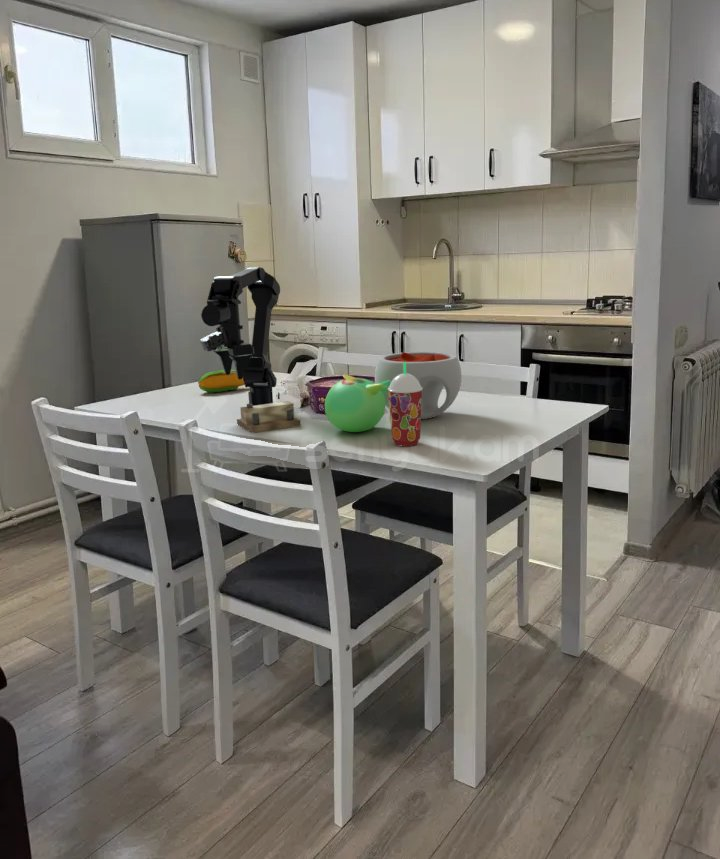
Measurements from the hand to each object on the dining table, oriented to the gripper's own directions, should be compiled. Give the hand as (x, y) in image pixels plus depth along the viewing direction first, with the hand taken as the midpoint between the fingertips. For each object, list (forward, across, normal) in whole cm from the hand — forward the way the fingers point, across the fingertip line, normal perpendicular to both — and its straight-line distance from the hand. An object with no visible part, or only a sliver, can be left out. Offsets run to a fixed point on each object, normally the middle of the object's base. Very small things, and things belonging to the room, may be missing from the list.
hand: (233, 376), depth 217 cm
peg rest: (+12, +14, +4) cm, 19 cm away
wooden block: (+10, +14, +4) cm, 18 cm away
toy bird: (+12, +35, +20) cm, 42 cm away
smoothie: (+12, +54, +22) cm, 60 cm away
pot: (+12, +31, +42) cm, 54 cm away
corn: (+13, -45, +14) cm, 49 cm away
